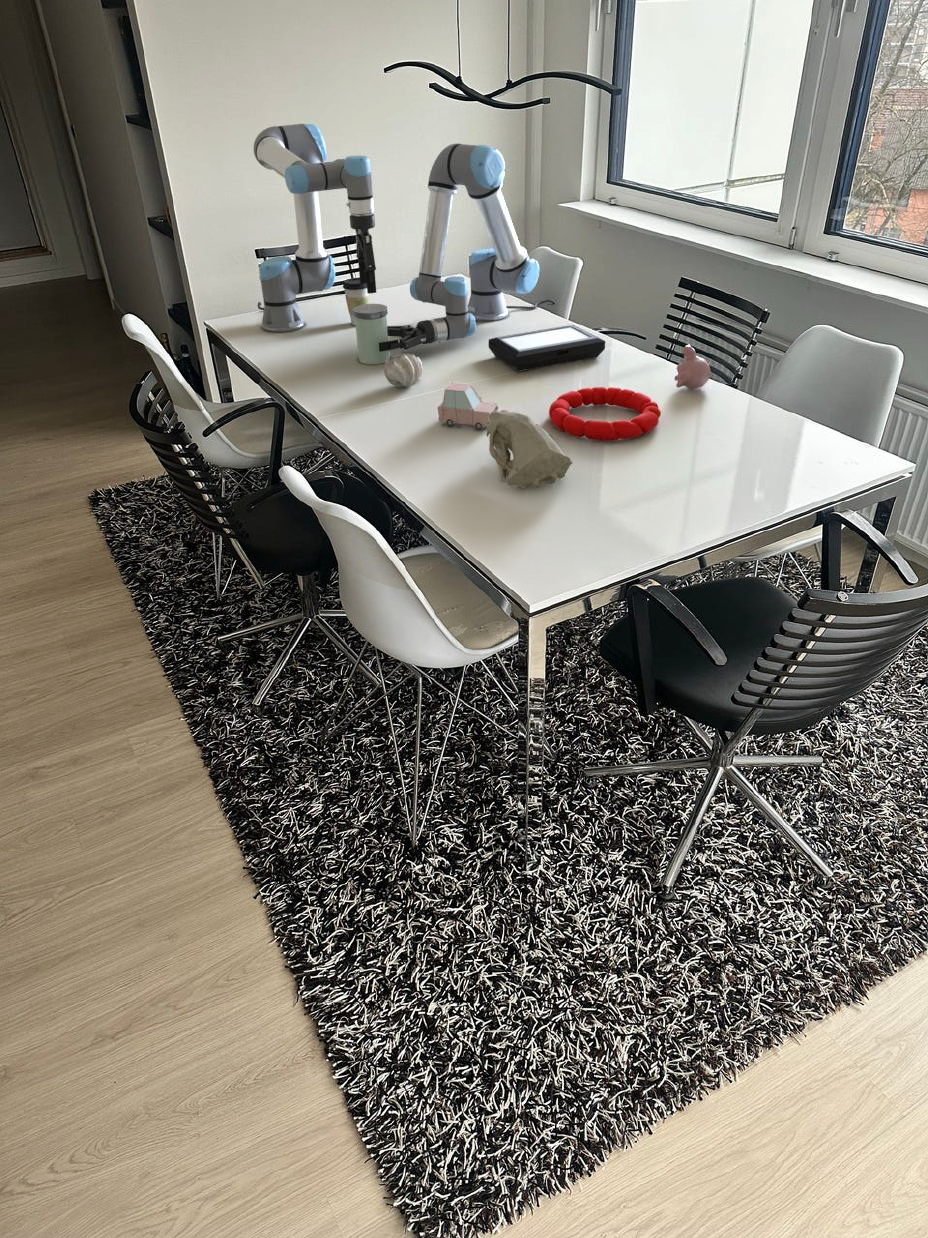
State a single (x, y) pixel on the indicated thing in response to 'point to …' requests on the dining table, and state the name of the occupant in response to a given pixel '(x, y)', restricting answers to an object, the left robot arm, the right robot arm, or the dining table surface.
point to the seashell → (403, 369)
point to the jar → (371, 340)
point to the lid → (370, 311)
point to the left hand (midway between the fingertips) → (368, 287)
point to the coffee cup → (355, 295)
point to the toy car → (465, 406)
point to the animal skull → (525, 450)
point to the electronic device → (546, 347)
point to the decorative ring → (604, 428)
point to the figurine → (692, 370)
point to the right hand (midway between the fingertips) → (371, 341)
